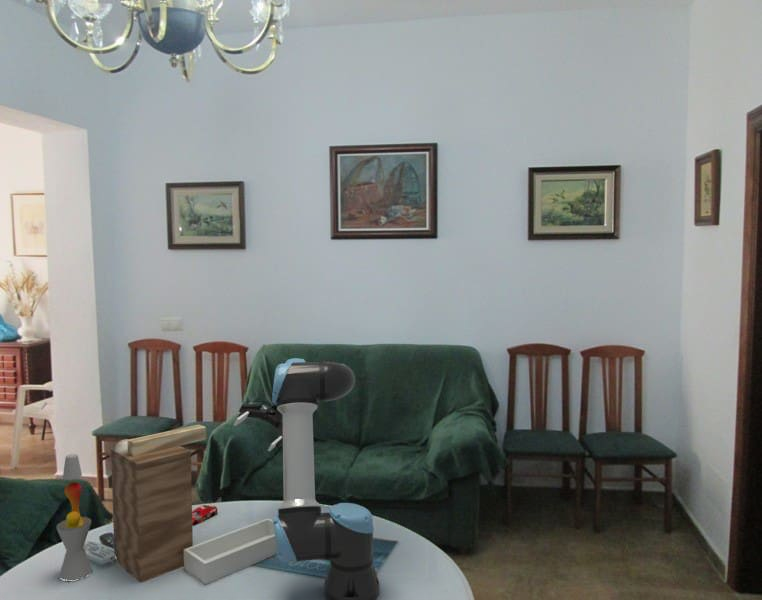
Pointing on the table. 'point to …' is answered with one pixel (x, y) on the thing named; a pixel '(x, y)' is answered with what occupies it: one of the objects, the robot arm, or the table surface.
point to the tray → (231, 551)
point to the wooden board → (166, 440)
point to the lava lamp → (74, 526)
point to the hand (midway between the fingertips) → (253, 435)
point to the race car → (203, 513)
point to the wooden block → (151, 509)
